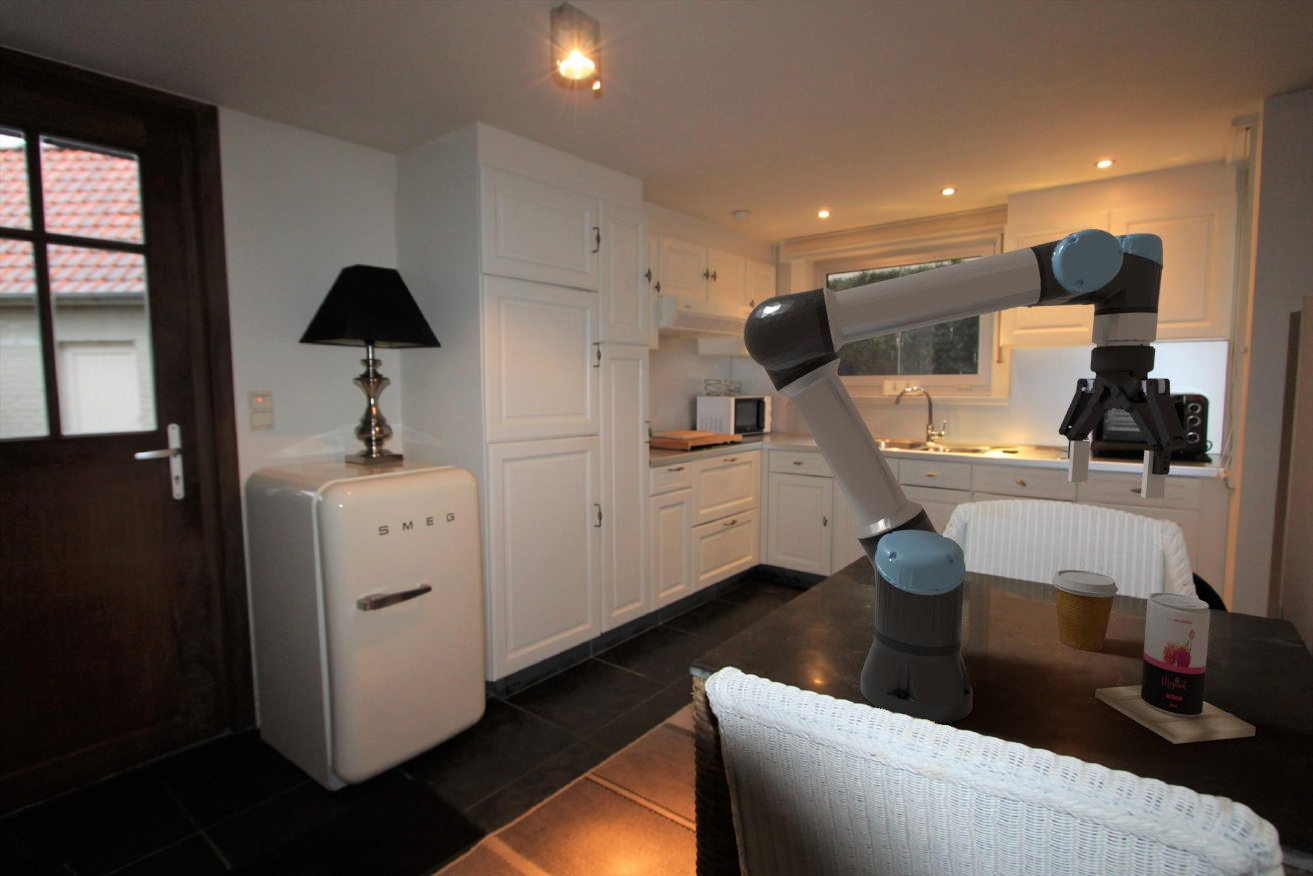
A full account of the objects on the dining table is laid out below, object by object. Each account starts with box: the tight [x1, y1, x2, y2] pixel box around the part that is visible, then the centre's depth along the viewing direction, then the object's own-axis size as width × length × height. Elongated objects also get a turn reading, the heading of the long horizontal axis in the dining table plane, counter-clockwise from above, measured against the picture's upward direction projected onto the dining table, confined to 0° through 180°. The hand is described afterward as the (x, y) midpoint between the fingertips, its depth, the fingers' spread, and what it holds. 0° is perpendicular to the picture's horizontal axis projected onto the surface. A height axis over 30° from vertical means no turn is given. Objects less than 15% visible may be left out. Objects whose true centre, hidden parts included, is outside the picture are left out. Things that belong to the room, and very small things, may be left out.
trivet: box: [1094, 684, 1256, 744], centre depth 86 cm, size 12×12×1 cm
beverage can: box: [1141, 592, 1211, 717], centre depth 85 cm, size 7×6×15 cm
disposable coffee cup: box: [1051, 569, 1119, 652], centre depth 109 cm, size 10×10×12 cm
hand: (1112, 489), depth 93 cm, fingers open, 13 cm apart
